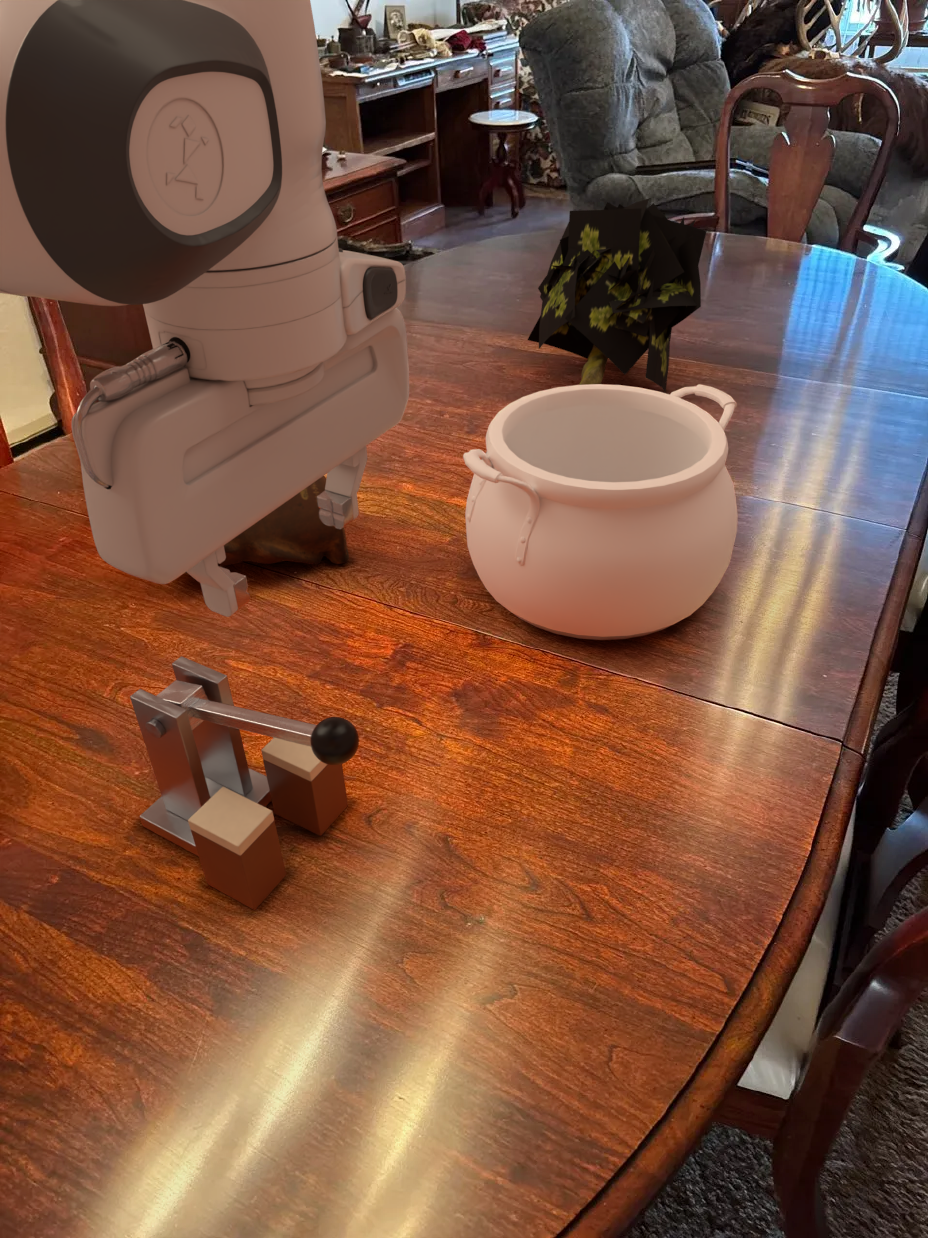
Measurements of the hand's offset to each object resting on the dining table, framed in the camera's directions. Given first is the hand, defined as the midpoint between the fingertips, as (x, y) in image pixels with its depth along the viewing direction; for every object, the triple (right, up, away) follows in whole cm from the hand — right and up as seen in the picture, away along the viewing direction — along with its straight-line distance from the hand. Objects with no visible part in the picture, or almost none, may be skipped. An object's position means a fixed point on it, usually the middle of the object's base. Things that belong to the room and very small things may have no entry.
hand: (288, 561), depth 50 cm
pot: (+23, +1, +45) cm, 51 cm away
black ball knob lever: (-4, -11, +12) cm, 17 cm away
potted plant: (+30, +31, +84) cm, 95 cm away
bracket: (-10, -18, +21) cm, 30 cm away
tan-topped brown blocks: (-4, -20, +19) cm, 28 cm away
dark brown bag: (-13, +4, +50) cm, 52 cm away
